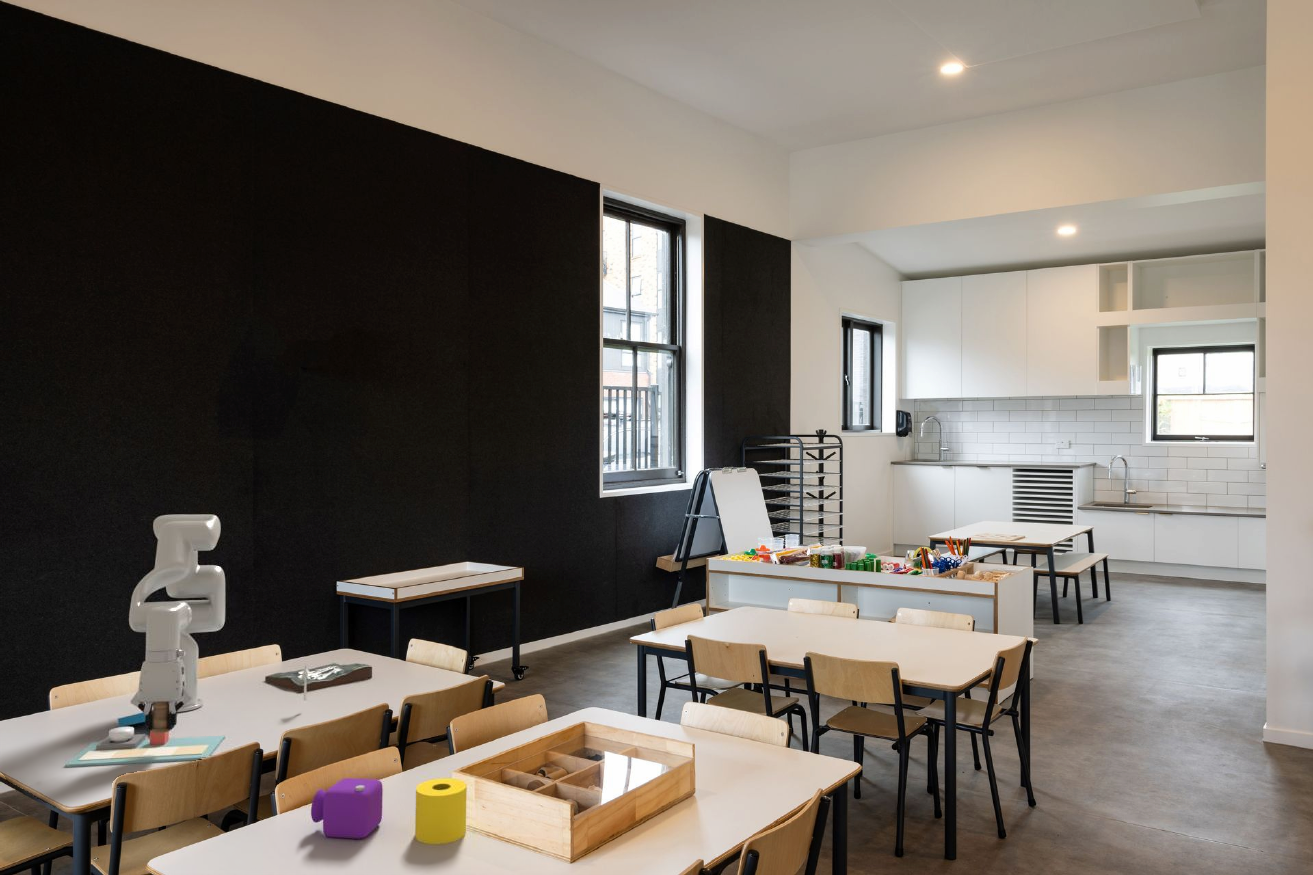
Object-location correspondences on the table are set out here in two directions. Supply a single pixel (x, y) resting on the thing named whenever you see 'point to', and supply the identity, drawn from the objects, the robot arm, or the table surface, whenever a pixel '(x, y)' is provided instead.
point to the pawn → (160, 717)
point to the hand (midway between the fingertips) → (160, 727)
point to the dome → (121, 734)
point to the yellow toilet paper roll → (440, 811)
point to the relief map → (321, 677)
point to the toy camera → (349, 808)
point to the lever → (131, 719)
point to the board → (146, 750)
